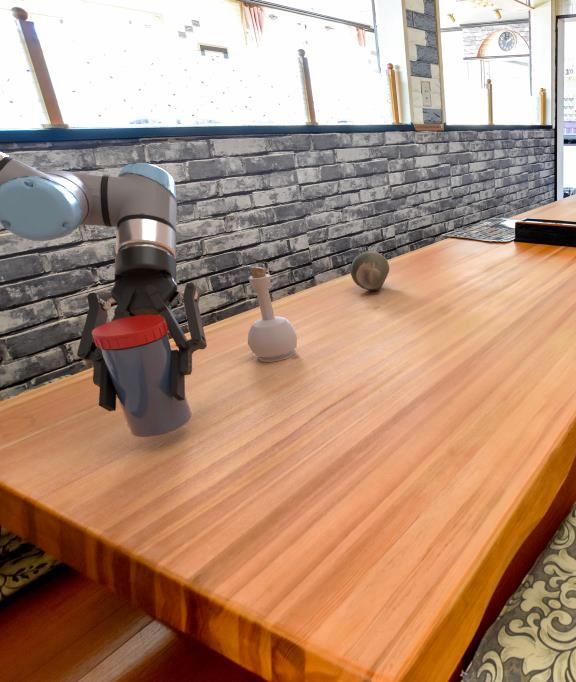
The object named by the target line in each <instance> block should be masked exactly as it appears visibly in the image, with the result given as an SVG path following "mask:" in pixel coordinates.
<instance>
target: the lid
mask: <svg viewBox="0 0 576 682" xmlns="http://www.w3.org/2000/svg"><path fill="white" fill-rule="evenodd" d="M168 333H169V330H168V326H167V323H166V320H165V318H164V317H163V316H160V315H139V316H132V317H126V318H122V319H118V320H114V321H112V320H111V321H108V322H106V323H105V324H102V325H100V326H98V327H96V328H95V329H94V330H93V331H92V335H93V337H92V338H93V340H94V343H95V346H97V347H98V348H101V349H122V348H129V347H134V346H138V345H142V344H146V343H149V342H152V341H154V340H157V339H159V338H161V337H163V336H164V335H166V334H167V335H168Z"/></svg>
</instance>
